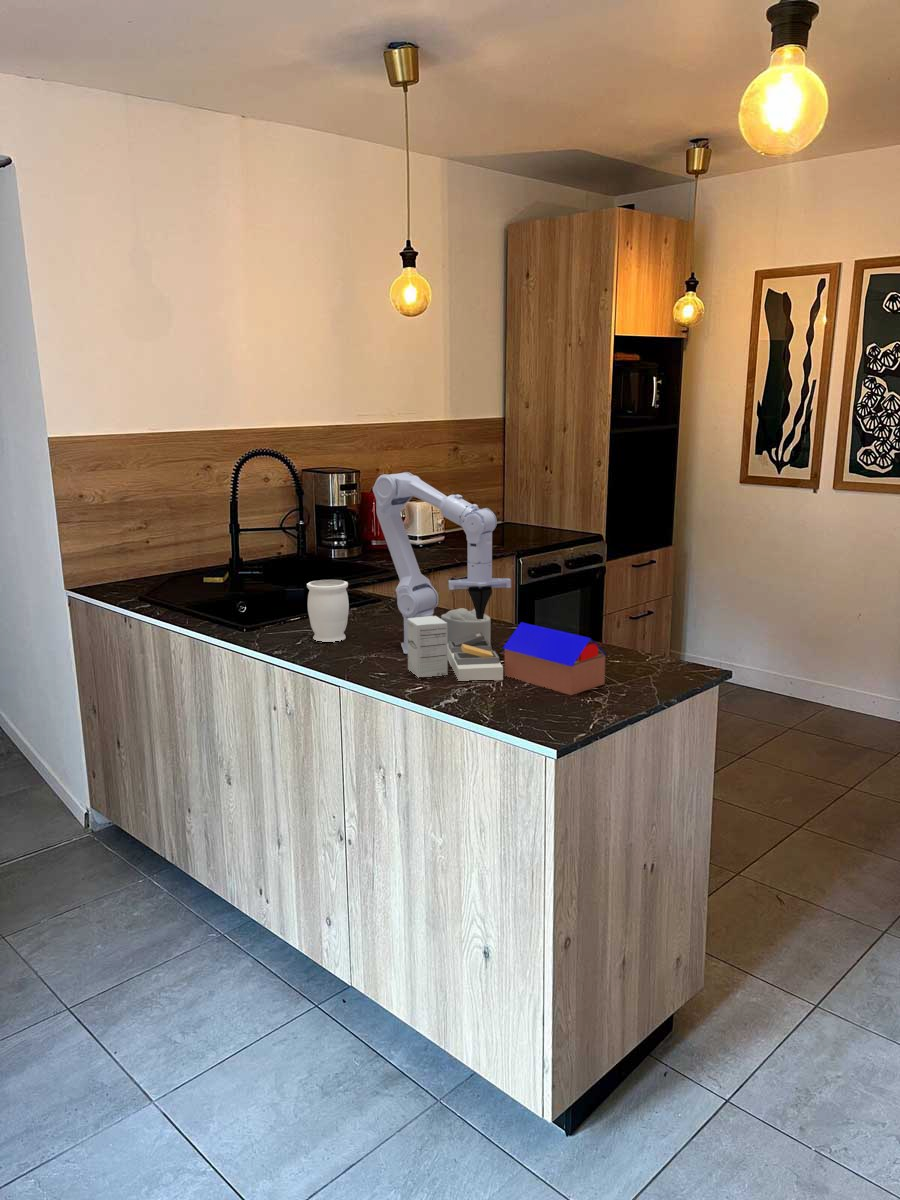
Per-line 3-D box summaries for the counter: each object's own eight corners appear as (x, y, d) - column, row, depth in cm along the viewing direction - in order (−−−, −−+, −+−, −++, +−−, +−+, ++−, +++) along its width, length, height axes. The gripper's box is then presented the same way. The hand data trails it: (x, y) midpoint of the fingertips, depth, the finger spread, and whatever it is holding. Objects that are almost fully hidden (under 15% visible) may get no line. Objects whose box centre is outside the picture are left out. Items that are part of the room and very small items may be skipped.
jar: (302, 643, 236) (300, 585, 233) (317, 633, 246) (315, 578, 242) (341, 645, 233) (339, 587, 230) (355, 635, 243) (353, 579, 240)
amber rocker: (460, 647, 209) (462, 643, 209) (489, 655, 210) (490, 651, 210) (463, 651, 206) (464, 647, 205) (492, 659, 207) (493, 655, 207)
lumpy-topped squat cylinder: (464, 635, 243) (464, 603, 241) (500, 644, 233) (500, 611, 232) (435, 643, 235) (435, 610, 234) (471, 652, 226) (471, 618, 224)
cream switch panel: (445, 655, 224) (445, 638, 223) (486, 653, 225) (486, 636, 224) (458, 682, 202) (458, 663, 202) (503, 680, 204) (503, 661, 203)
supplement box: (407, 671, 211) (406, 617, 208) (437, 667, 214) (436, 614, 211) (417, 680, 204) (416, 624, 202) (448, 676, 207) (448, 621, 204)
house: (537, 666, 215) (538, 617, 212) (606, 684, 201) (608, 633, 198) (502, 676, 207) (502, 626, 204) (571, 697, 193) (572, 643, 190)
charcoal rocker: (454, 645, 219) (453, 641, 219) (482, 635, 220) (480, 631, 219) (456, 649, 216) (455, 645, 215) (484, 639, 216) (483, 635, 216)
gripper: (451, 565, 209) (451, 623, 212) (513, 563, 211) (513, 621, 214) (447, 560, 216) (447, 616, 219) (507, 558, 218) (507, 614, 221)
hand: (479, 618), depth 217 cm, fingers closed
